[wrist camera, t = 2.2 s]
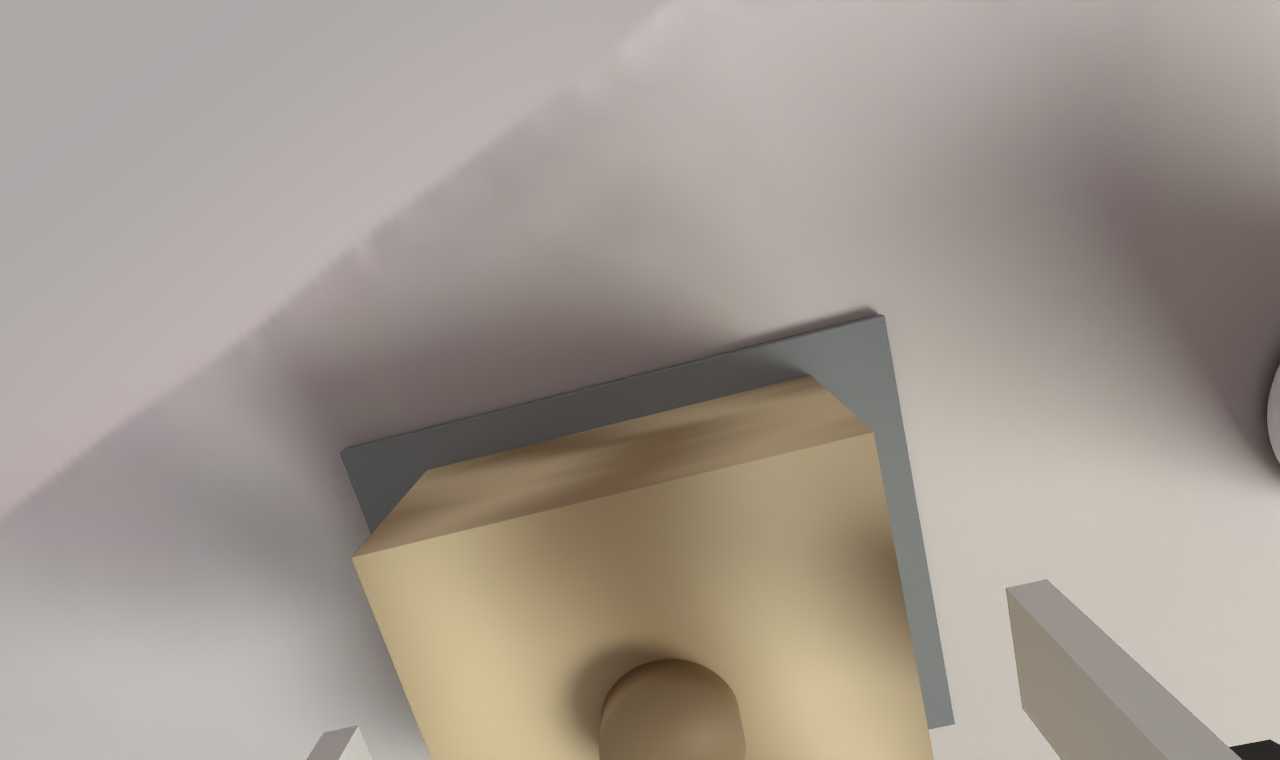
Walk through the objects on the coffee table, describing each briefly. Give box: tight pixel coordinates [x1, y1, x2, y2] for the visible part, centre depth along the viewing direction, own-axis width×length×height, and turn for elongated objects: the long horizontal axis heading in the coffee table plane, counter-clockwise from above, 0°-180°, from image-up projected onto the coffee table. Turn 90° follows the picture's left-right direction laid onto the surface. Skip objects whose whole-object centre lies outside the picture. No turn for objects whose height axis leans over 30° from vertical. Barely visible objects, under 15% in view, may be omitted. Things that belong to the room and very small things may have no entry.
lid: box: [351, 375, 934, 760], centre depth 15 cm, size 10×10×5 cm
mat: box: [340, 314, 955, 729], centre depth 18 cm, size 14×12×1 cm
